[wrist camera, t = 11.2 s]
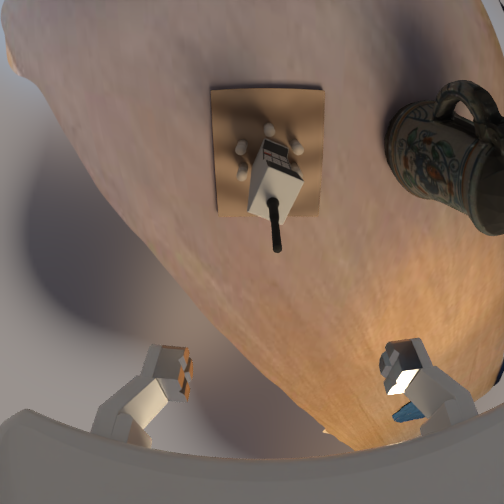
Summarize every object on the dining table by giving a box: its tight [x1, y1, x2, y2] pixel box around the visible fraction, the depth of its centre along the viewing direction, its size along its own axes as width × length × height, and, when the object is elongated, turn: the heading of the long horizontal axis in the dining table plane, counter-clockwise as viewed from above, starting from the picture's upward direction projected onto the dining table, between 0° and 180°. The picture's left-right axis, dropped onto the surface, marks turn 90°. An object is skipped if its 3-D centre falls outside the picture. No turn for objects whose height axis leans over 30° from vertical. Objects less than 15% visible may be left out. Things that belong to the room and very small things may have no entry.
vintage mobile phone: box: [247, 138, 304, 253], centre depth 29 cm, size 4×5×25 cm
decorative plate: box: [392, 402, 426, 423], centre depth 87 cm, size 30×30×5 cm
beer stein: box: [385, 80, 504, 236], centre depth 27 cm, size 16×19×25 cm
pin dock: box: [211, 88, 325, 217], centre depth 38 cm, size 20×16×6 cm
